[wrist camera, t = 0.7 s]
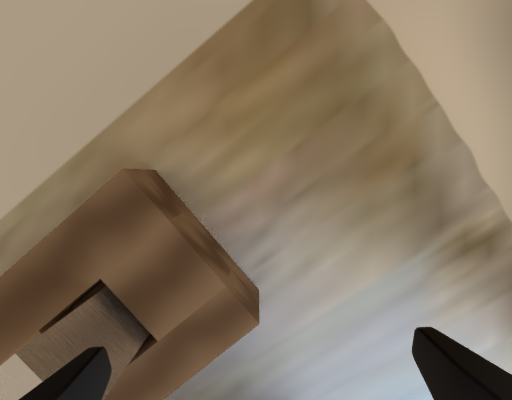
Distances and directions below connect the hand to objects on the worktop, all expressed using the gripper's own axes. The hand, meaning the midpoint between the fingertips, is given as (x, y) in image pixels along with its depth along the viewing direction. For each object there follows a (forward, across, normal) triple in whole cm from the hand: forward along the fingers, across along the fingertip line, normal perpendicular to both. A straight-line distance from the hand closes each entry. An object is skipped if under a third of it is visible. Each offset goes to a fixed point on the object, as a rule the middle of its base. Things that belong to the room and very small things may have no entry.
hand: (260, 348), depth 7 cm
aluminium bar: (+13, +12, +9) cm, 20 cm away
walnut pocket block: (+15, +12, +9) cm, 22 cm away
